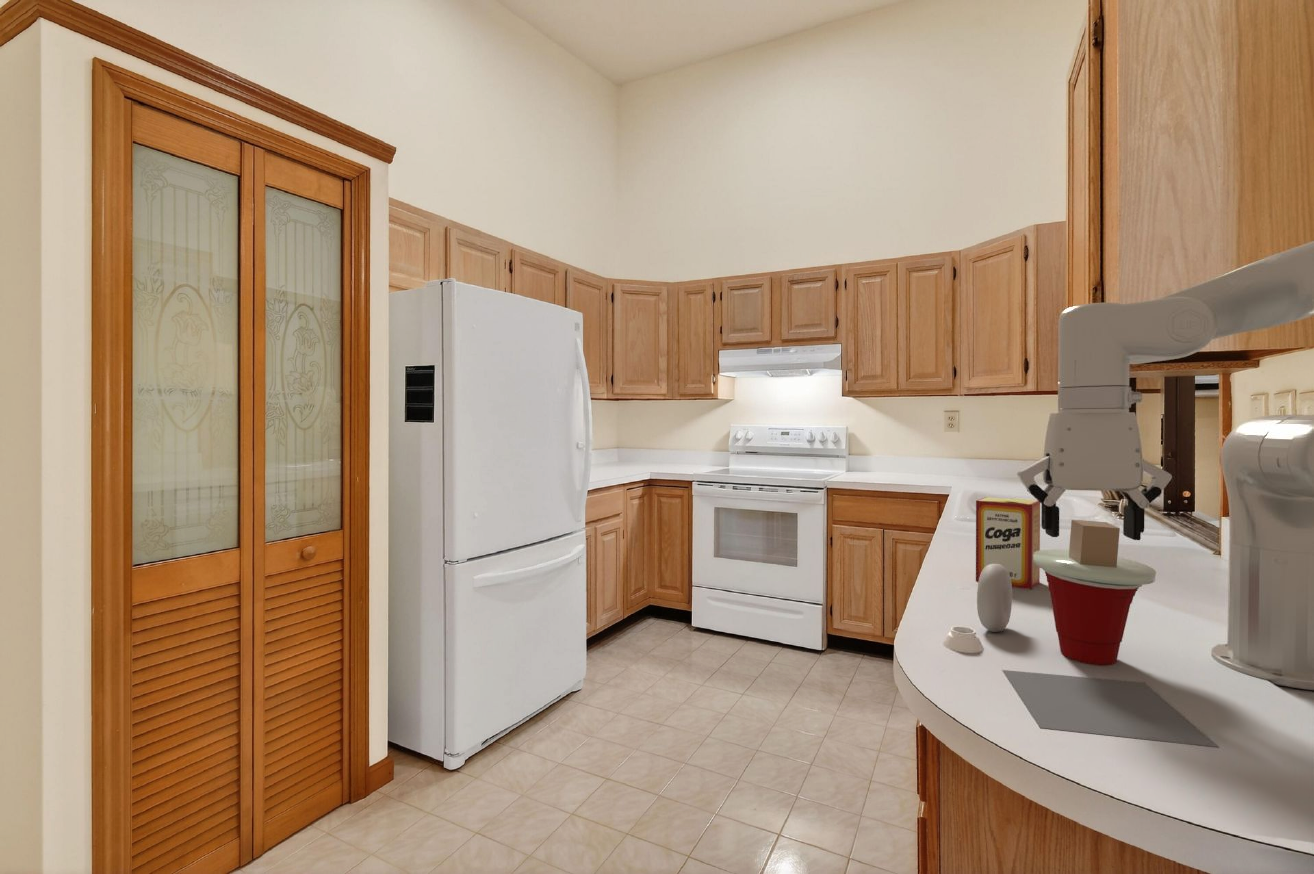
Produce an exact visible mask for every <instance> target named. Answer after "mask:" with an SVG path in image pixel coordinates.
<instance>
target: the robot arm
mask: <svg viewBox="0 0 1314 874" xmlns="http://www.w3.org/2000/svg"><path fill="white" fill-rule="evenodd" d="M1313 316H1314V240H1313V241H1309V242H1307V243H1304V244H1302V245H1297V246H1296V247H1295V246H1294V247H1293V248H1289V249H1287V250H1283V251H1280V252H1278V253H1274V254H1272V255H1270V256H1267V257H1265V258H1262V259H1260V260H1256V261H1253V262H1251V263H1248V264H1245V265H1244V266H1241V267H1239V268H1236V269H1234V270H1231V271H1230V272H1227V273H1225V274H1222V275H1220V276H1218V277H1217V276H1216V277H1215V278H1212V279H1209V280H1207V281H1204V282H1202V283H1199V284H1196V285H1193V286H1191V287H1188V288H1186V289H1183V290H1180V291H1177V292H1174V293H1171V294H1168V295H1165V296H1163V297H1160V298H1157V299H1151V300H1145V301H1138V302H1127V303H1119V302H1093V303H1085V304H1079V305H1074V306H1070V307H1068V308H1066V309H1064V310H1062V312H1061V314H1060V315H1059V318H1058V329H1057V331H1058V332H1057V333H1058V334H1057V335H1058V336H1057V337H1058V338H1057V339H1058V341H1057V342H1058V343H1057V347H1058V351H1057V352H1058V355H1057V360H1058V361H1057V362H1058V364H1057V366H1058V367H1057V371H1058V373H1057V380H1058V381H1057V385H1058V386H1057V412H1056V413H1055V412H1054V413H1053V412H1052V413H1050V414H1049V417H1048V422H1047V426H1046V432H1045V440H1044V448H1043V456H1042V458H1041V459H1039V460H1037V461H1036V462H1035V461H1034V462H1033V463H1032V464H1030V465H1028V466H1026V467H1024V468H1023V469H1020V470H1019V471H1018V472H1017V473H1016V475H1017V477H1018V479H1019V480H1020V481H1021V483H1022V484H1023V486H1024V487H1025V489H1026V491H1027V492H1028V493H1029V494H1031V496H1032V497H1034V498H1035V499H1036V501H1039V502H1040V505H1041V512H1040V526H1041V529H1042V530H1045V534H1046V535H1048V536H1049V537H1051V538H1058V537H1059V536H1060V507H1059V506H1057V502H1058V500H1059V499H1060V498H1061V496H1062V495H1064V493H1065V492H1066V491H1095V492H1096V491H1097V492H1098V491H1100V492H1102V491H1103V492H1108V491H1109V492H1110V491H1112V492H1113V491H1114V492H1119V493H1120V494H1121V495H1122V496H1123V498H1124V499H1125V500H1126V501H1127V504H1126V505H1124V506H1123V510H1122V511H1123V517H1122V519H1123V523H1122V525H1123V528H1122V530H1123V532H1122V534H1123V536H1125V537H1126V538H1129V539H1132V540H1133V541H1140V540H1141V538H1142V537H1141V535H1142V534H1141V533H1143V534H1144V532H1145V510H1146V509H1147V508H1149V506H1150V504H1151V503H1152V502H1153V501H1155V500H1156V499H1157V498H1158V497H1159V496H1161V494H1162V493H1163V490H1165V488H1166V487H1167V485H1168V484H1169V482H1171V480H1172V478H1173V476H1172V474H1171V473H1169V472H1168V471H1166V470H1164V469H1162V468H1160V467H1158V466H1157V465H1155V464H1153V463H1151V462H1150V461H1147V460H1146V459H1144V458H1143V448H1142V441H1141V440H1142V439H1141V433H1140V430H1139V429H1140V428H1139V424H1138V421H1137V415H1136V412H1133V411H1132V412H1130V408H1131V407H1132V404H1136V403H1137V404H1138V403H1141V402H1142V399H1143V394H1142V391H1141V392H1140V391H1133V390H1132V387H1131V386H1130V365H1142V364H1147V363H1153V362H1162V361H1164V362H1165V361H1170V360H1175V359H1176V360H1177V359H1181V358H1186V357H1188V356H1191V355H1193V354H1196V353H1197V352H1199V351H1201V350H1202V349H1204V348H1206V346H1208V345H1209V344H1210V343H1211V342H1212V340H1216V339H1218V338H1219V339H1220V338H1223V337H1227V336H1233V335H1236V334H1241V333H1248V332H1253V331H1260V330H1264V329H1270V328H1274V327H1279V326H1281V325H1285V324H1289V323H1294V322H1297V321H1301V320H1304V319H1307V318H1311V317H1313ZM1220 462H1221V463H1220V464H1221V471H1222V474H1223V475H1222V476H1223V478H1224V479H1223V480H1224V483H1225V487H1226V493H1227V499H1228V500H1227V501H1228V512H1229V515H1228V516H1229V518H1228V519H1229V523H1228V524H1229V530H1228V531H1229V535H1228V539H1229V540H1228V581H1227V582H1228V583H1227V585H1228V586H1227V587H1228V589H1227V640H1226V641H1227V643H1224V644H1222V643H1221V644H1218V645H1215V646H1214V647H1212V648H1211V650H1210V653H1211V654H1210V655H1211V658H1212V659H1213V660H1214V661H1216V662H1217V663H1218V664H1220V665H1222V666H1224V667H1226V668H1228V669H1231V670H1233V671H1235V672H1236V671H1237V672H1239V673H1242V674H1245V675H1248V676H1251V677H1255V678H1259V679H1262V680H1266V681H1268V683H1270V684H1274V685H1278V686H1283V687H1288V688H1293V689H1301V690H1309V691H1314V414H1273V415H1265V416H1260V417H1255V418H1253V419H1250V420H1249V419H1248V420H1247V421H1245V422H1242V423H1241V424H1240V425H1238V426H1236V427H1235V428H1234V429H1232V430H1231V431H1230V432H1229V433H1228V435H1227V436H1226V438H1225V439H1224V441H1223V444H1222V447H1221V452H1220ZM1040 473H1042V481H1043V482H1044V483H1045V485H1047V486H1046V487H1044V489H1043V488H1041V487H1040V486H1039V485H1038V484H1037V482H1036V480H1035V477H1036V476H1037V475H1039V474H1040ZM1144 474H1145V475H1147V476H1149V477H1150V478H1151V480H1150V482H1149V484H1148V485H1147V486H1145V487H1144V488H1142V489H1141V490H1140V487H1142V484H1143V480H1144Z"/></svg>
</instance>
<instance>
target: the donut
mask: <svg viewBox="0 0 1314 874" xmlns="http://www.w3.org/2000/svg"><path fill="white" fill-rule="evenodd" d="M977 582H978V581H977ZM976 589H977V591H976V610H977V616H978V618H979V621H980V623H981V625H982V626H983V627H984V628H985V629H986V630H988V631H989V632H992V633H998V632H1002V631H1003V630H1005V629H1006V628H1007V626H1008V624H1009V623H1010V620H1011V616H1012V615H1011V613H1012V608H1013V607H1012V605H1013V587H1012V584H1011V578H1010V575H1009V572H1008V571H1007V569H1006V568H1005V567H1004V566H1002V565H1000V564H989V565H987V566H985V567H984V569H983V570H982V572H981V574H980V577H979V582H978V584H977V588H976Z"/></svg>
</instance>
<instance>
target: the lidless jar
mask: <svg viewBox="0 0 1314 874" xmlns="http://www.w3.org/2000/svg"><path fill="white" fill-rule="evenodd" d="M942 644H943V647H945V648H946V649H949V650H952V651H955V652H959V653H960V652H961V653H965V654H966V653H967V654H968V653H969V654H975V653H980V652H981V653H982V652H983V651H984V650H985V648H984V645H983V644H982V642H981V639H980V638H979V636H978V635H977V631H976V630H975V629H973V628H971V627H967V626H960V625H959V626H958V625H957V626H956V625H955V626H951V628H950V631H949V632H948V633H947V634H946V636H945V638H944V639H943V641H942Z"/></svg>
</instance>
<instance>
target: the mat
mask: <svg viewBox="0 0 1314 874" xmlns="http://www.w3.org/2000/svg"><path fill="white" fill-rule="evenodd" d="M1001 672H1002V673H1003V674H1004V675H1005V677H1006V678H1007V680H1008V682H1009V683H1010V685H1011V687H1012V688H1013V689H1014V690H1015V692H1016V694H1017V696H1018V697H1019V698H1020V700H1021V701H1022V703H1023V705H1024V706H1025V708H1026V709H1027V710H1028V713H1029V714H1030V715H1031V717H1032V719H1034V721H1035V723H1036V724H1037V726H1038V727H1039V729H1044V730H1053V731H1054V730H1055V731H1063V732H1073V733H1078V734H1079V733H1080V734H1090V735H1099V736H1108V737H1109V736H1111V737H1115V738H1118V737H1119V738H1124V739H1125V738H1127V739H1135V740H1144V741H1154V742H1162V743H1174V744H1182V745H1191V746H1199V747H1209V748H1211V747H1212V748H1217V749H1220V747H1221V746H1219V745H1218V744H1217V743H1215V742H1214V741H1213V739H1211V738H1210V737H1208V735H1206V734H1205V733H1204V732H1203V731H1202V730H1201V729H1199V727H1197V726H1196V725H1194V723H1193V722H1191V721H1190V720H1189V719H1188V718H1186V716H1184V715H1183V713H1181V712H1179V711H1178V710H1177V709H1176V708H1175V707H1174V706H1172V705H1171V704H1170V703H1169V702H1168V701H1167V700H1165V699H1164V698H1163V697H1162V696H1161V695H1160V694H1159V693H1158V692H1157V691H1155V690H1154V689H1153V688H1152V687H1151V686H1150V685H1148V684H1147V683H1146V682H1144V681H1133V680H1132V681H1130V680H1120V679H1111V678H1098V677H1089V676H1087V677H1086V676H1085V677H1084V676H1075V675H1066V674H1065V675H1063V674H1052V673H1041V672H1031V671H1030V672H1029V671H1019V670H1007V669H1002V670H1001Z"/></svg>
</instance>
